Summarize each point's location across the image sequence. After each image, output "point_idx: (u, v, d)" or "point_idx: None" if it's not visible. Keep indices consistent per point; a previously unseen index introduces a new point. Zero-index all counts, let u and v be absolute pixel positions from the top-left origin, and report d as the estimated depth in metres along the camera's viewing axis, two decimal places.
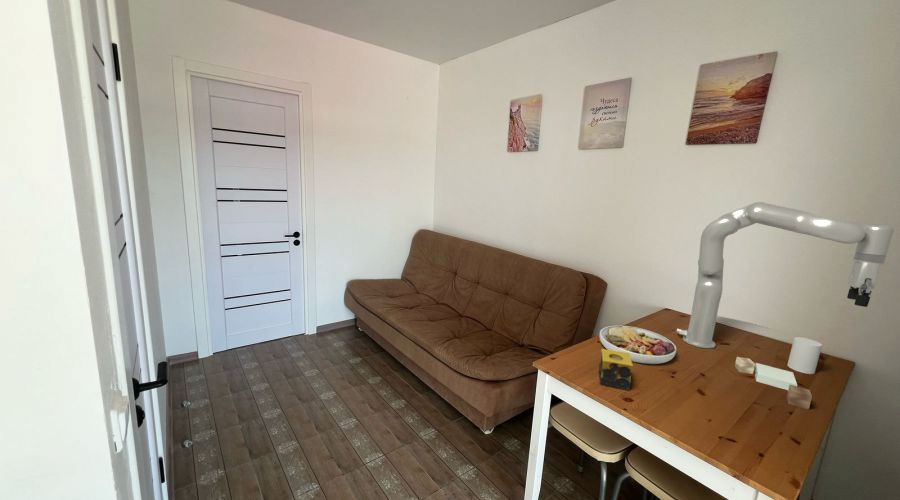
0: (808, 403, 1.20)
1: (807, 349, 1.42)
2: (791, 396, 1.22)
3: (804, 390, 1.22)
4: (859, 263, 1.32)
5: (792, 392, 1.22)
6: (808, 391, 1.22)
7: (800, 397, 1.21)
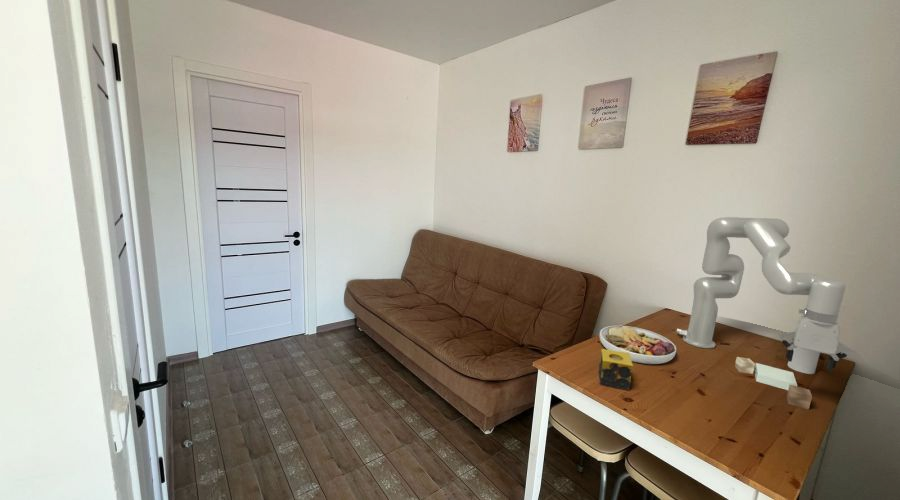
0: (808, 403, 1.20)
1: None
2: (791, 396, 1.22)
3: (804, 390, 1.22)
4: (830, 326, 1.14)
5: (792, 392, 1.22)
6: (808, 391, 1.22)
7: (800, 397, 1.21)
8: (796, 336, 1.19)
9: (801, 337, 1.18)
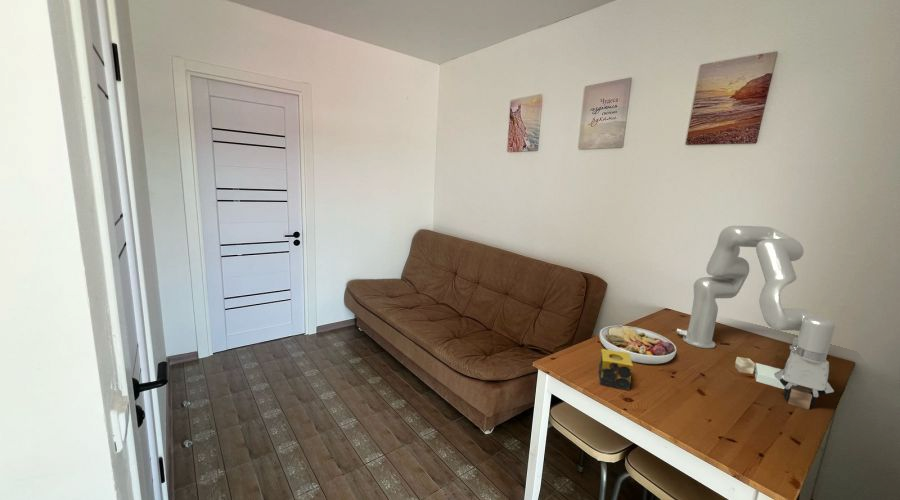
0: (808, 403, 1.20)
1: None
2: (791, 396, 1.22)
3: (804, 390, 1.22)
4: (819, 364, 1.17)
5: (792, 392, 1.22)
6: (808, 391, 1.22)
7: (800, 397, 1.21)
8: (786, 371, 1.22)
9: (791, 373, 1.21)
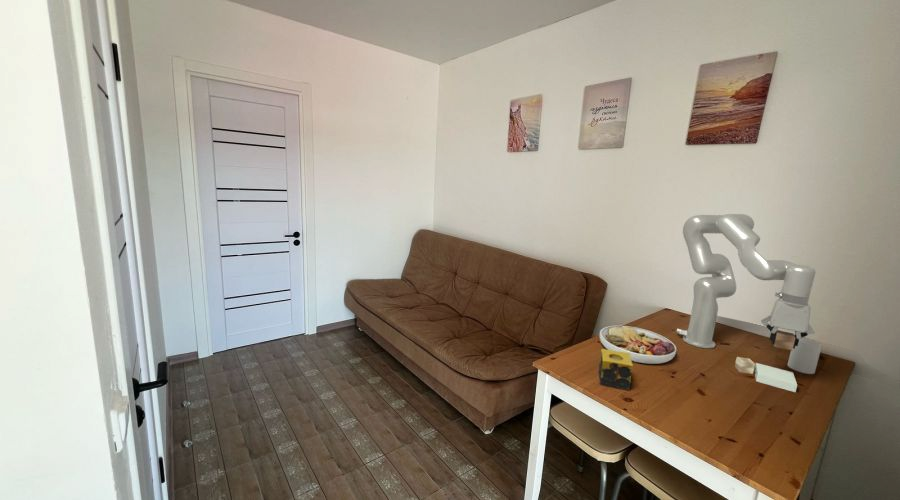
0: (792, 344, 1.31)
1: (807, 349, 1.42)
2: (776, 339, 1.33)
3: (788, 334, 1.33)
4: (801, 307, 1.28)
5: (777, 335, 1.33)
6: (792, 334, 1.33)
7: (784, 339, 1.32)
8: (772, 316, 1.33)
9: (776, 317, 1.32)
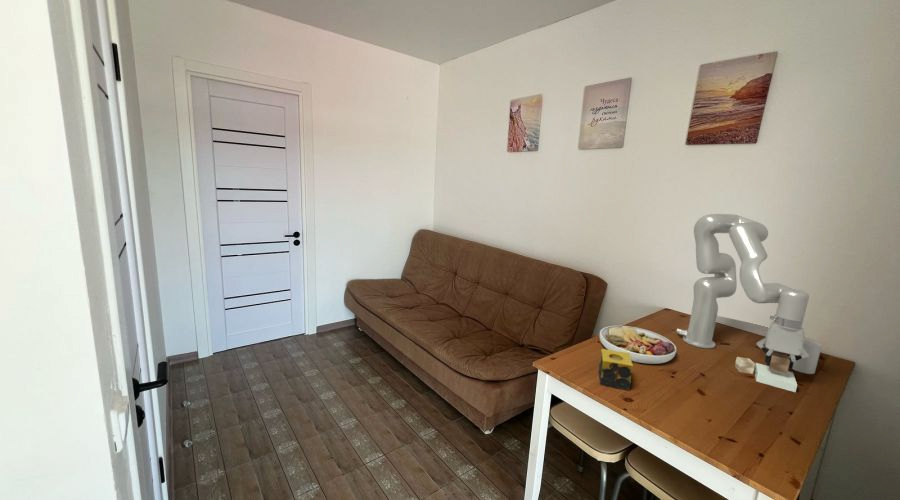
0: (786, 367, 1.33)
1: (807, 349, 1.42)
2: (771, 361, 1.35)
3: (783, 356, 1.35)
4: (796, 331, 1.30)
5: (772, 358, 1.35)
6: (787, 357, 1.35)
7: (779, 362, 1.34)
8: (767, 339, 1.35)
9: (771, 340, 1.34)
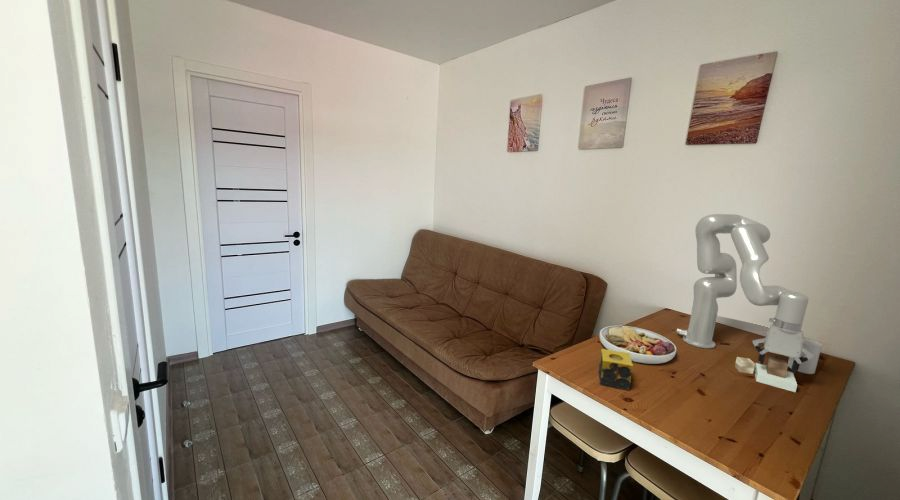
0: (784, 372, 1.33)
1: (807, 349, 1.42)
2: (769, 366, 1.36)
3: (781, 361, 1.36)
4: (795, 334, 1.30)
5: (770, 363, 1.35)
6: (785, 362, 1.35)
7: (777, 367, 1.34)
8: (766, 342, 1.35)
9: (770, 342, 1.34)
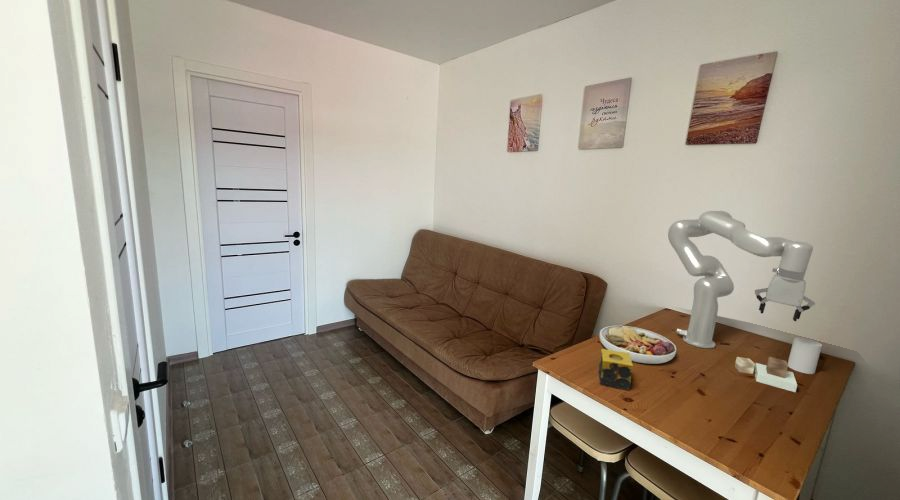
0: (784, 372, 1.33)
1: (807, 349, 1.42)
2: (769, 366, 1.36)
3: (781, 361, 1.36)
4: (797, 282, 1.32)
5: (770, 363, 1.35)
6: (785, 362, 1.35)
7: (777, 367, 1.34)
8: (768, 291, 1.38)
9: (772, 292, 1.37)
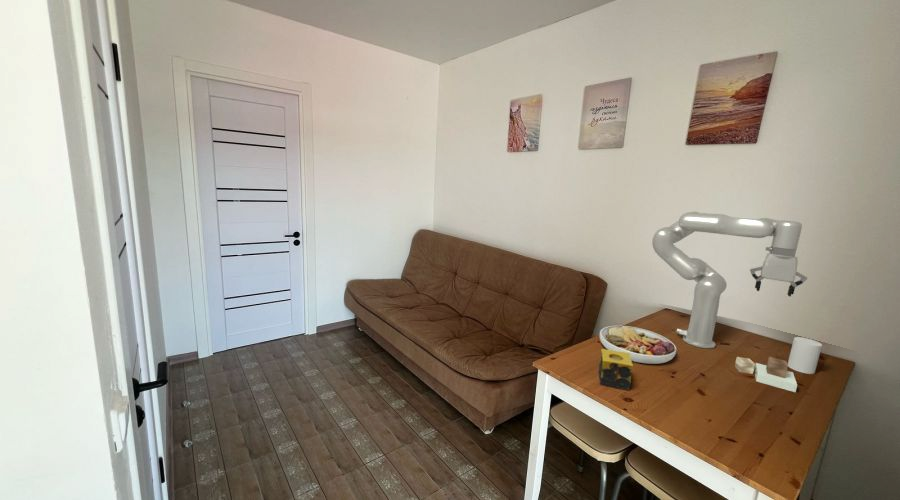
0: (784, 372, 1.33)
1: (807, 349, 1.42)
2: (769, 366, 1.36)
3: (781, 361, 1.36)
4: (789, 259, 1.40)
5: (770, 363, 1.35)
6: (785, 362, 1.35)
7: (777, 367, 1.34)
8: (763, 269, 1.45)
9: (767, 269, 1.44)
